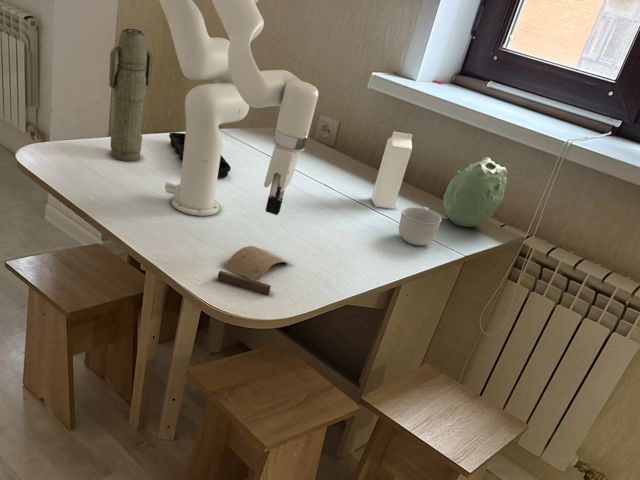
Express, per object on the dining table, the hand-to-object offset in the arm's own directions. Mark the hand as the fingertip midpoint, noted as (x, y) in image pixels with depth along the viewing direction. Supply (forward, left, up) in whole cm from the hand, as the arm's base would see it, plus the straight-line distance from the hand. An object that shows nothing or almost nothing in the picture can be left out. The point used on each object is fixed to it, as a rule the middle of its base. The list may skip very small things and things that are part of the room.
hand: (272, 212), depth 165 cm
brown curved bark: (+1, -11, -9) cm, 15 cm away
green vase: (+49, +52, -9) cm, 72 cm away
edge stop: (+1, -23, -9) cm, 25 cm away
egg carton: (-34, +44, -9) cm, 57 cm away
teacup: (+36, +31, -9) cm, 48 cm away
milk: (+24, +51, -9) cm, 57 cm away
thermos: (-53, +33, -9) cm, 63 cm away
